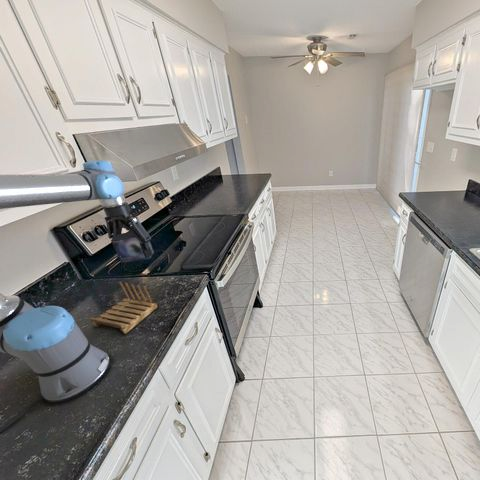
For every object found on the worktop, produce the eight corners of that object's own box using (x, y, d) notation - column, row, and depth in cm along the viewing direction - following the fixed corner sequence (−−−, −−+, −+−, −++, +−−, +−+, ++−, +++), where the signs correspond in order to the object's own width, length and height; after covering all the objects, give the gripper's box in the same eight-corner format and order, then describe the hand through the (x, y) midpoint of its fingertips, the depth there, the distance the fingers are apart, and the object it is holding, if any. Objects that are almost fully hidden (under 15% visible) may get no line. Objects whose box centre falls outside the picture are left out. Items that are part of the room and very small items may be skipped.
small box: (120, 264, 100) (109, 240, 95) (126, 256, 105) (116, 233, 100) (150, 259, 102) (140, 236, 97) (154, 251, 108) (146, 229, 103)
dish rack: (125, 334, 89) (112, 311, 84) (94, 326, 93) (80, 304, 88) (157, 306, 101) (147, 285, 96) (129, 301, 105) (118, 280, 100)
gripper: (148, 202, 93) (168, 253, 103) (101, 199, 100) (123, 248, 109) (130, 209, 87) (152, 262, 97) (80, 206, 93) (106, 256, 103)
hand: (137, 255), depth 103 cm, fingers closed on small box, 12 cm apart
